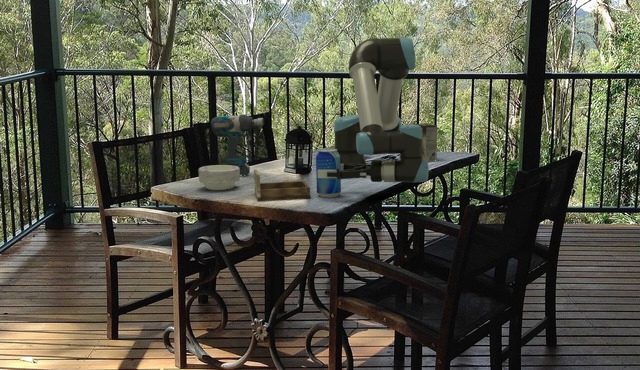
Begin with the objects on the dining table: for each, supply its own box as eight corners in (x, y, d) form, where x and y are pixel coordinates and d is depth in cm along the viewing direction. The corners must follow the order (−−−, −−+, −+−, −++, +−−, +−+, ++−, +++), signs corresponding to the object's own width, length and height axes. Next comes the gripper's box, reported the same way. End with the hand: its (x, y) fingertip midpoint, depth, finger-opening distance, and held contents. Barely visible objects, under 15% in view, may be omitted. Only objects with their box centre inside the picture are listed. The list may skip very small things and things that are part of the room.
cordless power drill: (264, 177, 316) (261, 115, 312) (211, 176, 320) (207, 115, 316) (269, 174, 324) (267, 113, 319) (217, 173, 328) (214, 113, 324)
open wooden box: (304, 191, 283) (304, 166, 282) (310, 198, 269) (309, 172, 268) (254, 193, 281) (253, 168, 279) (257, 201, 267) (256, 174, 265)
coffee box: (413, 160, 352) (413, 124, 349) (425, 158, 355) (425, 123, 352) (425, 162, 344) (425, 125, 341) (437, 161, 347) (437, 124, 344)
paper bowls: (247, 188, 291) (246, 167, 290) (209, 193, 283) (208, 172, 282) (229, 183, 304) (228, 163, 302) (193, 188, 296) (191, 167, 294)
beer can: (345, 194, 275) (344, 149, 272) (332, 198, 268) (331, 152, 265) (325, 192, 279) (323, 147, 276) (312, 196, 272) (310, 150, 269)
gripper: (386, 155, 280) (328, 155, 284) (378, 165, 255) (314, 165, 260) (386, 175, 281) (328, 175, 285) (378, 188, 257) (314, 187, 261)
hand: (321, 170), depth 272 cm, fingers open, 13 cm apart
